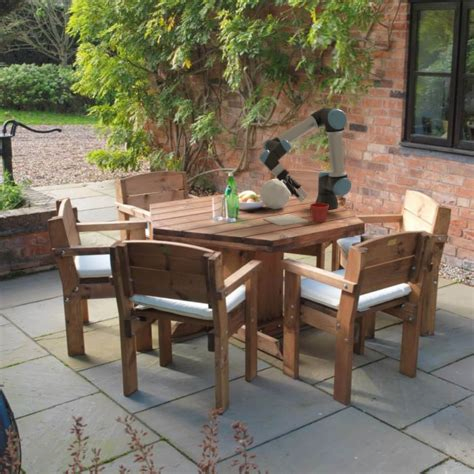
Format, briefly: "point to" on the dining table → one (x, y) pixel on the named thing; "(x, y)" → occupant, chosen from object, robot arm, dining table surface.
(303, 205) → the dining table surface
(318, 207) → the flower pot
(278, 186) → the geometric orb
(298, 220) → the stone tile
